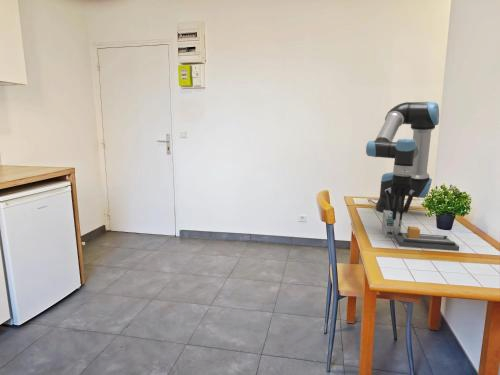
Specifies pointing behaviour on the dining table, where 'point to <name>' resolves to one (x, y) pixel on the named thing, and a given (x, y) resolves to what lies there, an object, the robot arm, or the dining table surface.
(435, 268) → the dining table surface
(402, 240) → the panel
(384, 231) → the light bulb box
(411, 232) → the slider block
